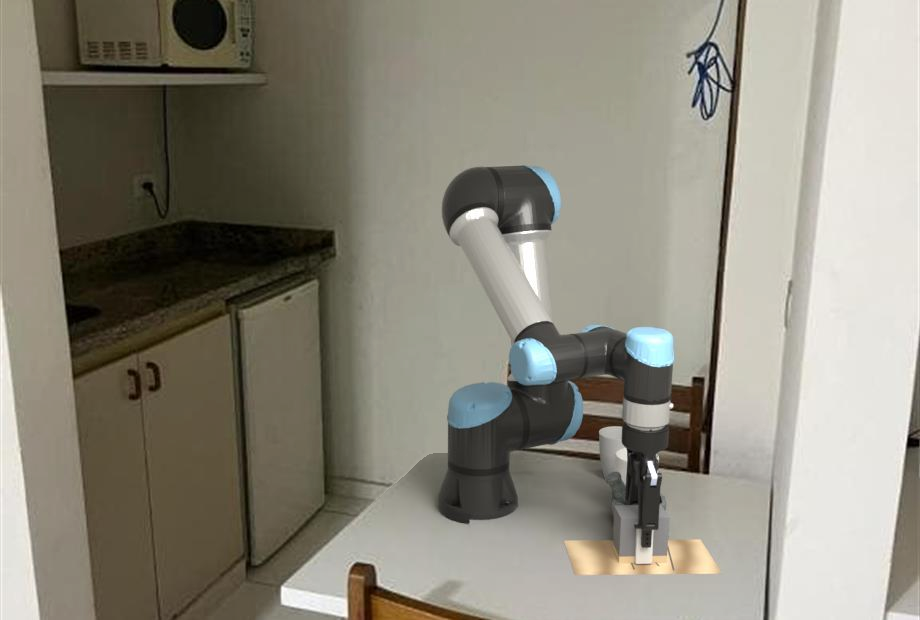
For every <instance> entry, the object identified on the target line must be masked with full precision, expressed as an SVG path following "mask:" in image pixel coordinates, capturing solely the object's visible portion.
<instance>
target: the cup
mask: <svg viewBox="0 0 920 620" xmlns="http://www.w3.org/2000/svg"><path fill="white" fill-rule="evenodd" d="M598 436H599V437H598V439H599V440H598V443H599V446H598V447H599V457H600V464H601V466H600V467H601V470H602V473H603V477H604V480H605V481H606V477H607V475H608V474H610V473H612V472H614V468H615V454H616V452H617V451H618V450H620V449H623V448H626V447H625V446H624V445H623V444H622V425H621V426H618V425H617V426H616V425H613V426H612V425H611V426H605V427H603V428H600V429H599V431H598Z"/></svg>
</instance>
